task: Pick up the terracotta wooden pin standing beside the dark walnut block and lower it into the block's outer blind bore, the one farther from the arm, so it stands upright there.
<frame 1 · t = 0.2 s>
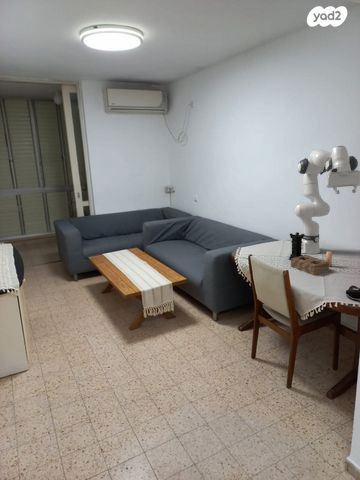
hand: (346, 193, 193), 54 cm above the table, tool tilted 30°, fingers open, 8 cm apart
pin: (328, 265, 229), on the table
bore block: (309, 268, 227), on the table
chess piece: (296, 260, 245), on the table
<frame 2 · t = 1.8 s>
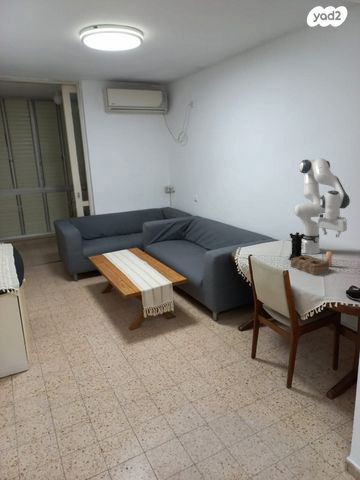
hand: (331, 235, 222), 22 cm above the table, tool pointing down, fingers open, 8 cm apart
nothing on the table moved.
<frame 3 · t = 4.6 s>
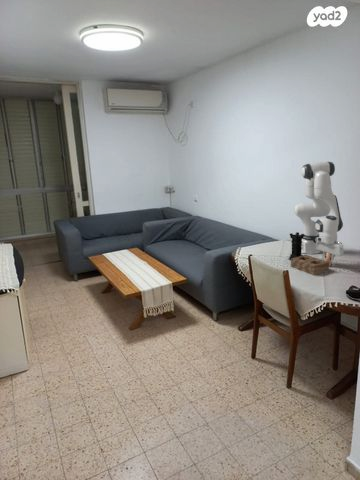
hand: (328, 259, 227), 5 cm above the table, tool pointing down, fingers closed on pin, 3 cm apart
pin: (328, 265, 229), on the table, touching gripper
everything else where it was.
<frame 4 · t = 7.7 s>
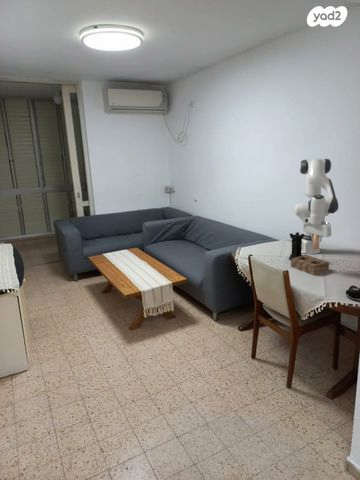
hand: (316, 240, 217), 21 cm above the table, tool pointing down, fingers closed on pin, 3 cm apart
pin: (316, 248, 218), point 16 cm above the table, touching gripper
everything else where it was.
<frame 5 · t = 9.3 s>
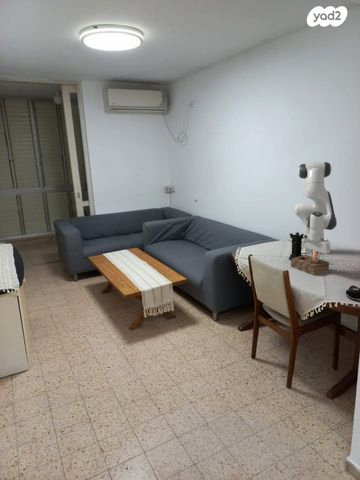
hand: (315, 257, 219), 10 cm above the table, tool pointing down, fingers closed on pin, 3 cm apart
pin: (315, 264, 221), point 5 cm above the table, touching gripper
everything else where it was.
when the fingers open (8 cm above the table, at t = 10.6 s): pin stays where it is, resting on bore block.
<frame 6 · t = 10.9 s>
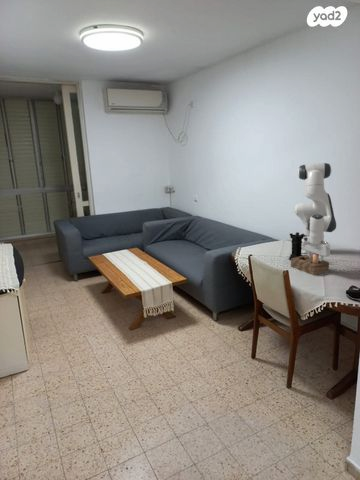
hand: (315, 259, 220), 8 cm above the table, tool pointing down, fingers open, 6 cm apart
pin: (315, 267, 222), point 2 cm above the table, touching bore block
everything else where it was.
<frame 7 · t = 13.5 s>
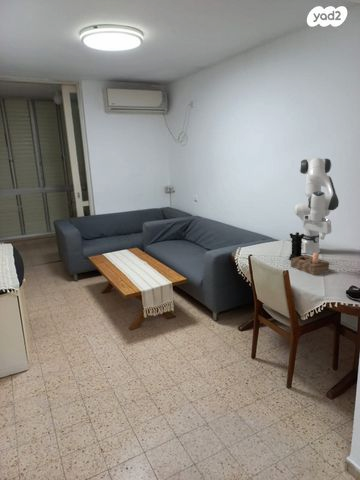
hand: (316, 237, 216), 23 cm above the table, tool pointing down, fingers open, 8 cm apart
nothing on the table moved.
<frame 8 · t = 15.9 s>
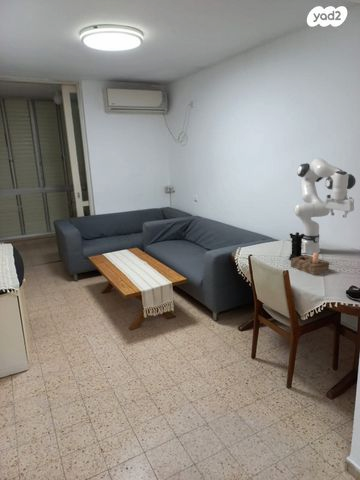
hand: (338, 216, 223), 34 cm above the table, tool pointing down, fingers open, 8 cm apart
nothing on the table moved.
at the end: pin 0.0 cm from the target spot on the bore block, point 2.0 cm above the bore block's base; pin tilted 0°; the gripper is holding nothing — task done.
